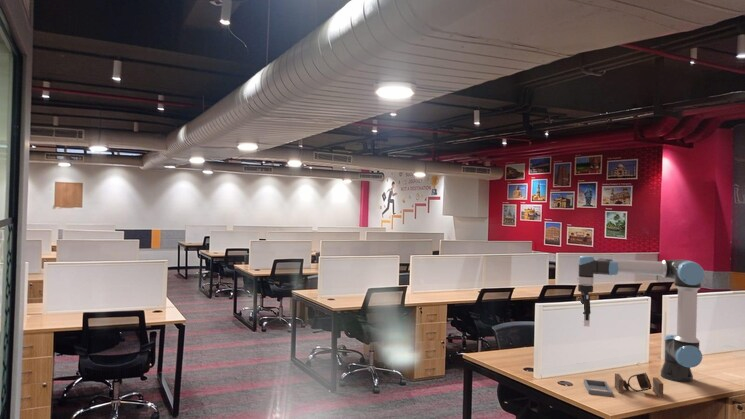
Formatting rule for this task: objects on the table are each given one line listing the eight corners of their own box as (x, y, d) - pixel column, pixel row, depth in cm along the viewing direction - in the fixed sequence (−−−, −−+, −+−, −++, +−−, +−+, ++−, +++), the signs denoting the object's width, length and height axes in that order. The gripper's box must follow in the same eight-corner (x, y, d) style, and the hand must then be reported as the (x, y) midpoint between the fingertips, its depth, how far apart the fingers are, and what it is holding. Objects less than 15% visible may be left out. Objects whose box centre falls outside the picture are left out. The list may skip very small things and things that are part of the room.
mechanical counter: (654, 396, 247) (655, 376, 247) (626, 394, 250) (626, 373, 250) (649, 391, 254) (650, 371, 254) (622, 389, 257) (622, 369, 257)
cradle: (657, 391, 254) (657, 377, 254) (663, 398, 245) (663, 384, 245) (614, 387, 259) (614, 373, 259) (618, 393, 249) (619, 379, 249)
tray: (605, 386, 261) (605, 381, 261) (612, 397, 244) (612, 392, 244) (583, 383, 263) (583, 379, 263) (588, 394, 247) (588, 389, 247)
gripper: (575, 281, 292) (574, 318, 292) (581, 287, 268) (580, 327, 267) (589, 282, 290) (588, 319, 290) (597, 288, 266) (596, 329, 266)
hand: (584, 323), depth 279 cm, fingers open, 13 cm apart
